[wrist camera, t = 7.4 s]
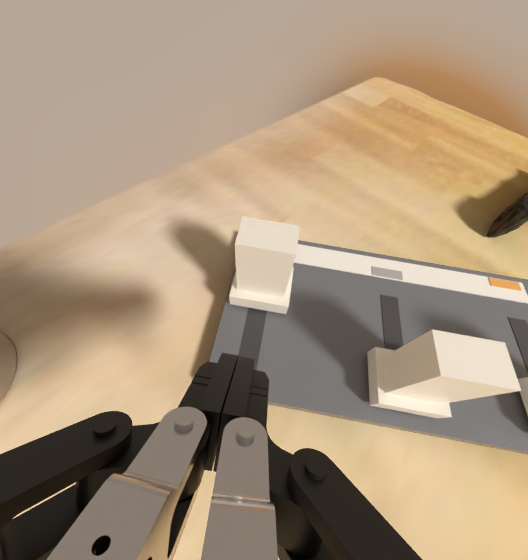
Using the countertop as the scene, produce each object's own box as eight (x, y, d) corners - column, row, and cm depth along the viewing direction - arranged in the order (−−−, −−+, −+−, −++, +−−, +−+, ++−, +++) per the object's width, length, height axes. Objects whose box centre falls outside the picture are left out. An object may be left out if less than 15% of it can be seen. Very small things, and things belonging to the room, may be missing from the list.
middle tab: (369, 405, 19) (433, 389, 13) (367, 352, 21) (421, 315, 15) (437, 418, 19) (537, 409, 12) (428, 363, 21) (509, 331, 14)
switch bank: (204, 391, 20) (201, 388, 19) (245, 240, 29) (245, 230, 27) (589, 466, 19) (616, 468, 18) (515, 287, 28) (530, 279, 26)
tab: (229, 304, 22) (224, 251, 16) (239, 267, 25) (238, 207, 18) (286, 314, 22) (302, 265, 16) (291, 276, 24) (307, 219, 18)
